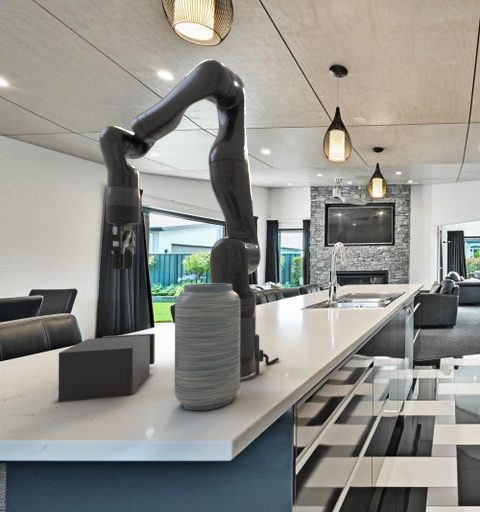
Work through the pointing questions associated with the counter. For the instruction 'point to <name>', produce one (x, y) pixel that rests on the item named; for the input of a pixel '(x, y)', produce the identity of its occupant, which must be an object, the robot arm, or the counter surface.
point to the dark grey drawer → (152, 344)
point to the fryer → (103, 367)
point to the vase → (207, 345)
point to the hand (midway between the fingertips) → (123, 268)
